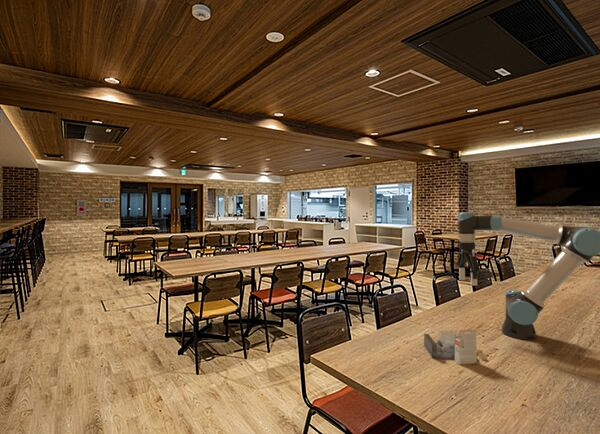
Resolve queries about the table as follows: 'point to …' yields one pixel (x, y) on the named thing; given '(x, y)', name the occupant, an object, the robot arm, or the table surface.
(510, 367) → the table surface
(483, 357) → the brass key
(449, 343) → the block
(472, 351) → the ink box
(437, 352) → the grey bookend
